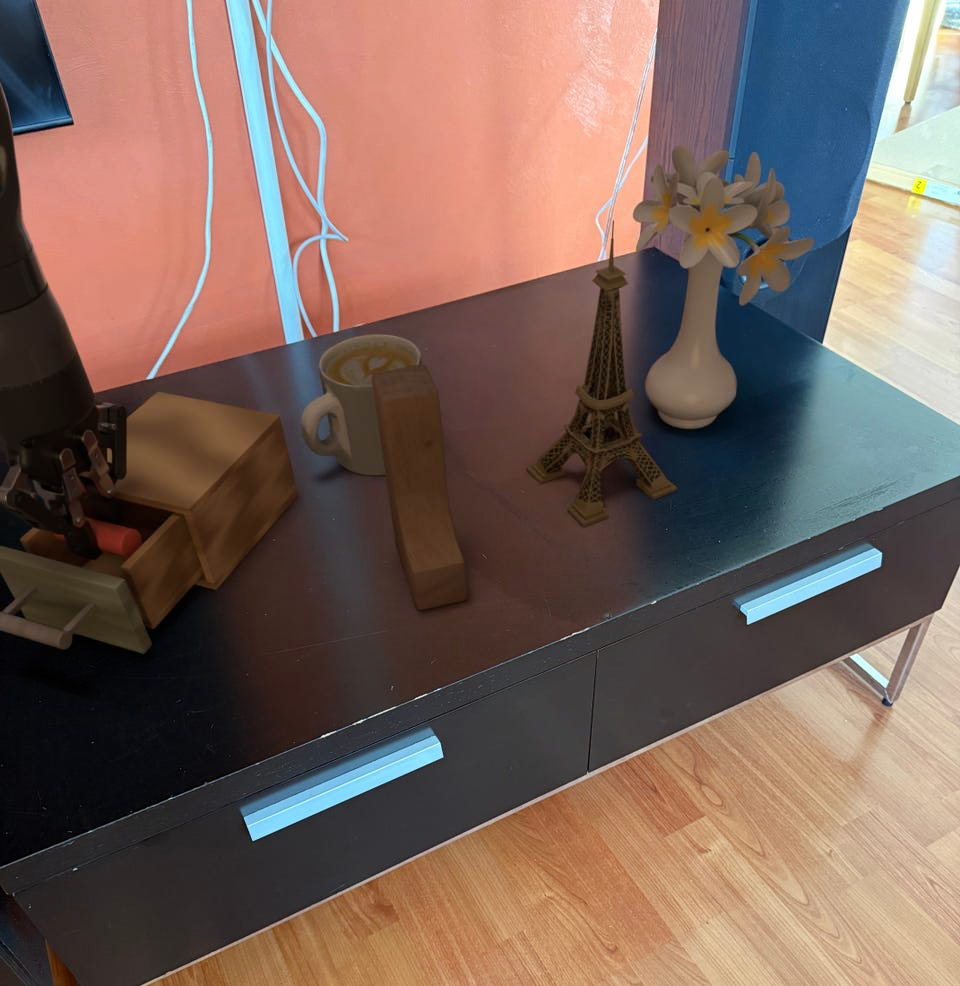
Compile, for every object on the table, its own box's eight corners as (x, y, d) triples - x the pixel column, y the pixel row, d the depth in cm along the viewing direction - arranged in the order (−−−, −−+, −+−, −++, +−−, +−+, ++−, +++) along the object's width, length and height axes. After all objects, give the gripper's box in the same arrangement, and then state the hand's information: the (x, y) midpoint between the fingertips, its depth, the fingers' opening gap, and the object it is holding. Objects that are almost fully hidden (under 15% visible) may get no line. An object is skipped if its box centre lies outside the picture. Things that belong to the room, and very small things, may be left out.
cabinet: (216, 590, 84) (188, 508, 78) (93, 557, 88) (57, 477, 82) (298, 495, 93) (280, 415, 87) (183, 469, 98) (157, 391, 91)
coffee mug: (403, 410, 103) (393, 324, 96) (447, 454, 97) (439, 366, 90) (289, 450, 99) (269, 363, 92) (327, 499, 93) (308, 409, 86)
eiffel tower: (614, 437, 98) (630, 184, 80) (676, 490, 91) (709, 227, 73) (525, 469, 95) (521, 214, 77) (583, 527, 88) (593, 261, 70)
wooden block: (468, 601, 82) (454, 420, 69) (417, 612, 81) (393, 432, 68) (443, 537, 88) (425, 361, 75) (395, 548, 87) (369, 371, 74)
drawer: (108, 695, 75) (75, 630, 70) (-14, 656, 79) (-53, 591, 73) (233, 552, 86) (213, 487, 81) (122, 524, 90) (96, 460, 85)
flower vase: (713, 479, 92) (755, 217, 74) (589, 400, 103) (599, 154, 85) (805, 430, 97) (864, 174, 79) (678, 360, 108) (704, 120, 90)
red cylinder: (76, 531, 81) (57, 545, 79) (69, 506, 80) (49, 520, 78) (144, 549, 79) (125, 563, 77) (138, 524, 77) (118, 538, 76)
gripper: (44, 303, 72) (116, 488, 85) (-96, 397, 63) (8, 588, 76) (124, 317, 70) (186, 505, 82) (-9, 416, 61) (83, 610, 74)
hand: (101, 544), depth 79 cm, fingers closed on red cylinder, 2 cm apart
